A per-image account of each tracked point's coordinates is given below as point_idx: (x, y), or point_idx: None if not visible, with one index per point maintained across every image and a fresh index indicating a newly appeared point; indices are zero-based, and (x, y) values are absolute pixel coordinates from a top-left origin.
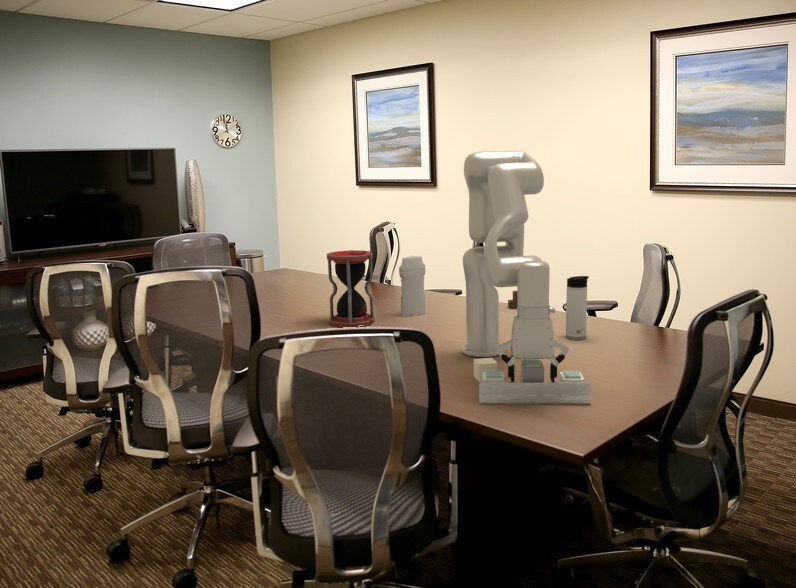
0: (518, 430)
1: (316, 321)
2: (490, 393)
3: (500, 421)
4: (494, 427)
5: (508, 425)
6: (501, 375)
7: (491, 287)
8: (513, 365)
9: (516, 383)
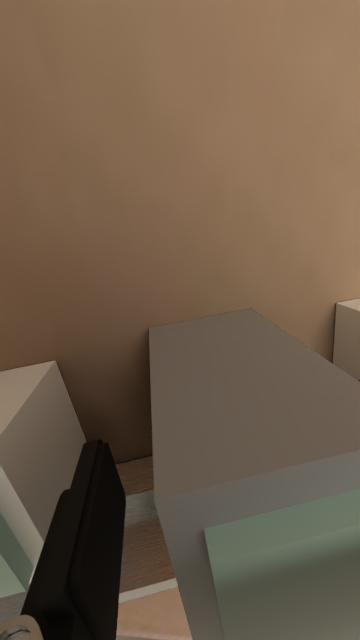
0: (183, 625)
1: None
2: None
3: (125, 603)
4: (117, 633)
5: (153, 614)
6: (14, 521)
7: None
8: (93, 630)
9: (153, 589)
